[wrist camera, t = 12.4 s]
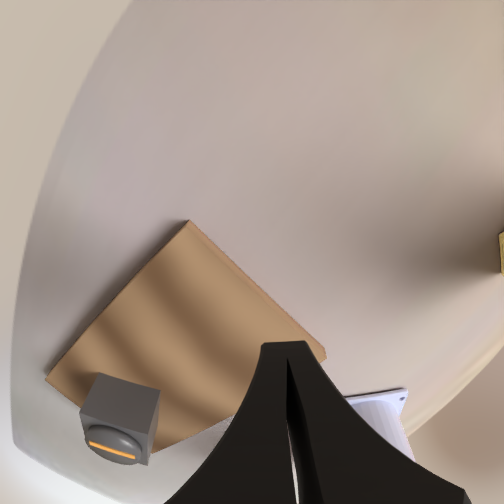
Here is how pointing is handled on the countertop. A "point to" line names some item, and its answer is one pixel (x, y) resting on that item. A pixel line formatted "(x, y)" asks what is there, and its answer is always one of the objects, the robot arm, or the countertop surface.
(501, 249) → the candy box
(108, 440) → the knob
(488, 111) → the countertop surface
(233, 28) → the countertop surface
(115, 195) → the countertop surface
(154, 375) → the parts board
